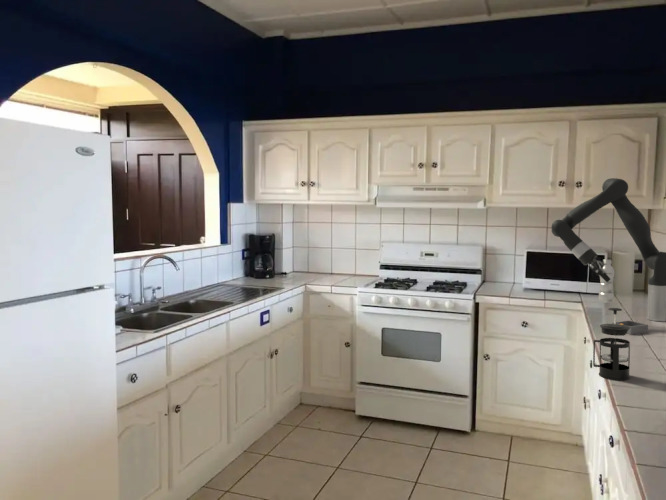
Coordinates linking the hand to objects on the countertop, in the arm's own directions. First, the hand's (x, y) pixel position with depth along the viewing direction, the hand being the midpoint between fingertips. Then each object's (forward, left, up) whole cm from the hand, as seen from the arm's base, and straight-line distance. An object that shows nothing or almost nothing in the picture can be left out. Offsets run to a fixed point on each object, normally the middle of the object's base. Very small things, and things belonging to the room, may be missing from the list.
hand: (610, 279), depth 259 cm
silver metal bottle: (+1, -1, -11) cm, 11 cm away
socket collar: (0, +11, -22) cm, 24 cm away
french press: (+58, +56, -22) cm, 84 cm away
